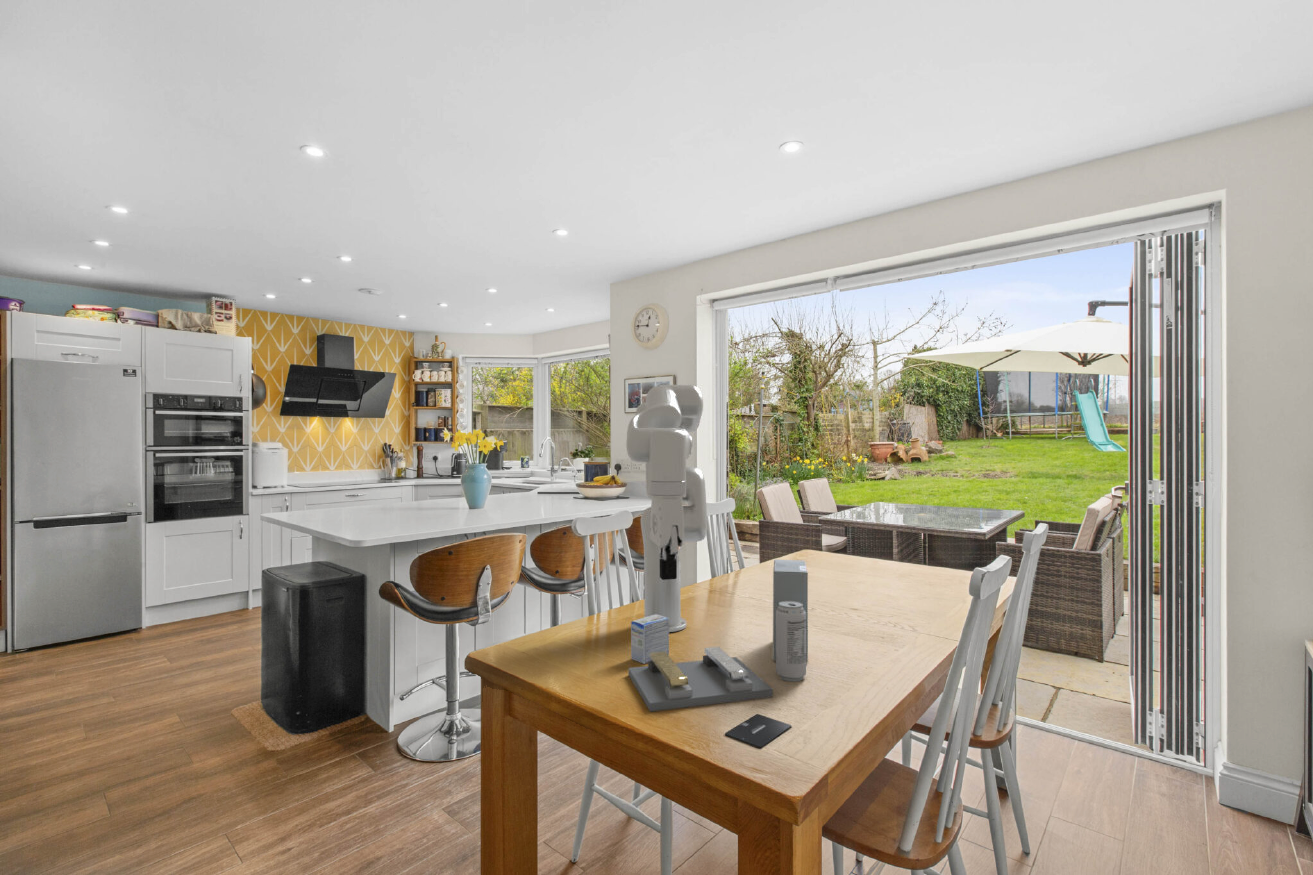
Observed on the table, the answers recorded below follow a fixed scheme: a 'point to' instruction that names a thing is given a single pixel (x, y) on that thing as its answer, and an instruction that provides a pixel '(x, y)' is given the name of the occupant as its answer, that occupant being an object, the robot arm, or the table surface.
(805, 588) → the hard drive box
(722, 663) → the steel strap
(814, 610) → the table surface
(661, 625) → the medicine box
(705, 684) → the board
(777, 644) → the energy drink can
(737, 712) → the table surface
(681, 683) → the brass strap
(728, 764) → the table surface
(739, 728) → the solid state drive
